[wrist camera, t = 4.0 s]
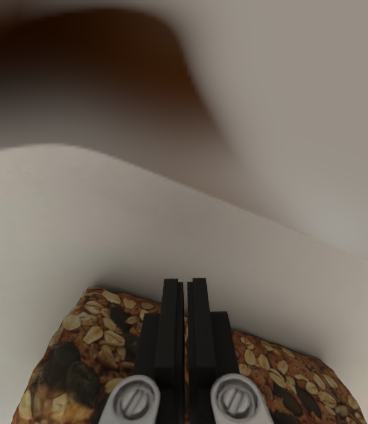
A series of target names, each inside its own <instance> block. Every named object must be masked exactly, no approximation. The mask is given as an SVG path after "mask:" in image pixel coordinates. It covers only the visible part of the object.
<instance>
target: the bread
mask: <svg viewBox="0 0 368 424" xmlns="http://www.w3.org/2000/svg"><path fill="white" fill-rule="evenodd" d="M160 312H161V305H160V304H157V303H155V302H152V301H149V300H145V299H141V298H136V297H134V296H132V295H129V294H125V293H119V294H112V293H110V292H108V291H107V290H105V289H103V288H101V287H88V289H87V290H86V292H84V293H83V295H82V297H81V298H80V300H79V301H78V303H77V305H76V307H75V308H73V309H72V310H71V312H70V313H69V314H68V315H67V316H66V317H65V318H64V320H63V321H62V323H61V325H60V327H59V329H58V331H57V332H56V333H55V334H54V336H53V337H52V339H51V341H50V343H49V345H48V348H47V350H46V353H45V355H44V356H43V358H42V359H41V361H40V362H39V363H38V365H37V366H36V367H35V369H34V370H33V372H32V375H31V377H30V380H29V383H28V386H27V388H26V390H25V392H24V395H23V396H22V398H21V401H20V403H19V405H18V407H17V409H16V411H15V413H14V415H13V421H12V423H11V424H91V423H92V422H93V421H94V420H95V419H97V418H98V417H99V416H100V415H101V414H102V413H103V410H104V408H105V406H106V403H107V401H108V398H109V396H110V394H111V392H112V391H113V389H114V387H115V386H116V385H117V384H118V383H119V382H120V381H122V380H124V379H125V378H127V377H130V376H132V372H133V367H134V362H135V357H136V352H137V347H138V342H139V337H140V332H141V327H142V322H143V317H144V314H145V313H160ZM184 322H185V424H190V406H189V369H188V318H187V317H185V316H184ZM231 332H232V337H233V342H234V347H235V352H236V357H237V361H238V366H239V371H240V375H243V376H245V377H247V378H249V379H250V380H252V381H253V382H254V383H255V384H256V385H257V387H258V388H259V390H260V392H261V394H262V396H263V398H264V401H265V403H266V405H267V408H268V410H269V411H270V412H271V413H272V414H273V415H275V416H276V417H277V418H278V419H280V420H281V421H282V422H283V423H285V424H367V423H366V421H365V419H364V416H363V414H362V412H361V409H360V407H359V405H358V403H357V401H356V400H355V399H354V397H353V396H352V395H351V393H350V392H349V390H348V389H347V388H346V387H345V385H344V384H343V383H342V382H341V381H340V380H339V378H338V377H337V375H336V374H335V372H334V371H333V370H332V369H331V368H329V367H328V366H327V365H326V364H324V363H323V362H322V361H321V360H319V359H317V358H314V357H310V356H307V357H305V356H303V355H301V354H298V353H295V352H292V351H289V350H288V349H286V348H284V347H282V346H279V345H270V344H268V343H267V342H266V341H264V340H262V339H260V338H257V337H255V336H248V335H243V334H242V333H241V332H237V331H233V330H231Z"/></svg>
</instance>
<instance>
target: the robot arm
mask: <svg viewBox="0 0 368 424" xmlns="http://www.w3.org/2000/svg"><path fill="white" fill-rule="evenodd" d="M187 289H188V369H189V406H190V424H285V423H283V422H282V421H281V420H280V419H278V418H277V417H276V416H275V415H273V414H272V413H271V412H270V411H269V410H268V408H267V405H266V403H265V401H264V398H263V396H262V394H261V392H260V390H259V388H258V387H257V385H256V384H255V383H254V382H253V381H252V380H250V379H249V378H247V377H245V376H243V375H240V371H239V366H238V361H237V357H236V352H235V347H234V342H233V337H232V332H231V328H230V323H229V318H228V314H227V311H225V312H210V308H209V300H208V292H207V283H206V278H193V282H187ZM91 424H185V322H184V290H183V282H178V279H165V280H164V287H163V296H162V304H161V312H160V313H145V314H144V317H143V322H142V327H141V332H140V337H139V342H138V347H137V352H136V357H135V362H134V367H133V372H132V376H130V377H127V378H125V379H124V380H122V381H120V382H119V383H118V384H117V385H116V386H115V387H114V389H113V391H112V392H111V394H110V396H109V398H108V401H107V403H106V406H105V408H104V410H103V413H102V414H101V415H100V416H99V417H98V418H97V419H95V420H94V421H93V422H92V423H91Z"/></svg>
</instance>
